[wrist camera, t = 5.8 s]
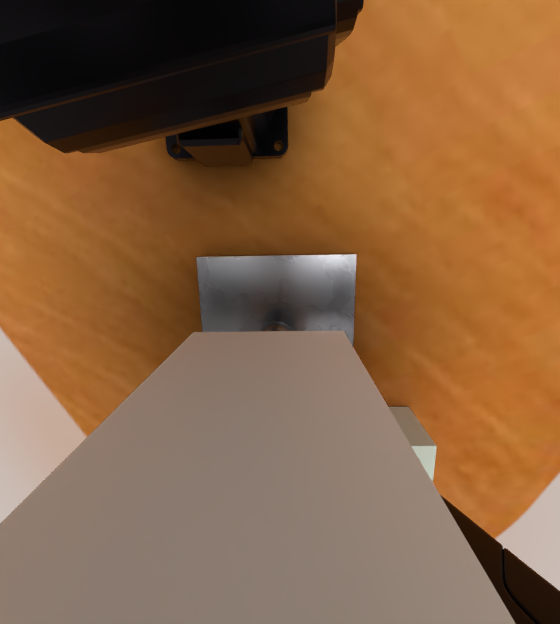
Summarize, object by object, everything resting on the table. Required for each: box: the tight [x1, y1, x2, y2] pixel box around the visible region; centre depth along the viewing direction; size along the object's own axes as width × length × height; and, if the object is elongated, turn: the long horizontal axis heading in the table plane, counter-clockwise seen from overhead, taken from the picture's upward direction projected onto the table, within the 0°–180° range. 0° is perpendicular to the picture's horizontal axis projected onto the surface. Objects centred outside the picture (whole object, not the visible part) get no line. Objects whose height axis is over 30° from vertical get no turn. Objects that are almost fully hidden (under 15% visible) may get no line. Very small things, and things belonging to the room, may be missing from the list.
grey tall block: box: [0, 331, 516, 624], centre depth 7 cm, size 5×5×9 cm
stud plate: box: [196, 253, 356, 346], centre depth 18 cm, size 9×9×4 cm
